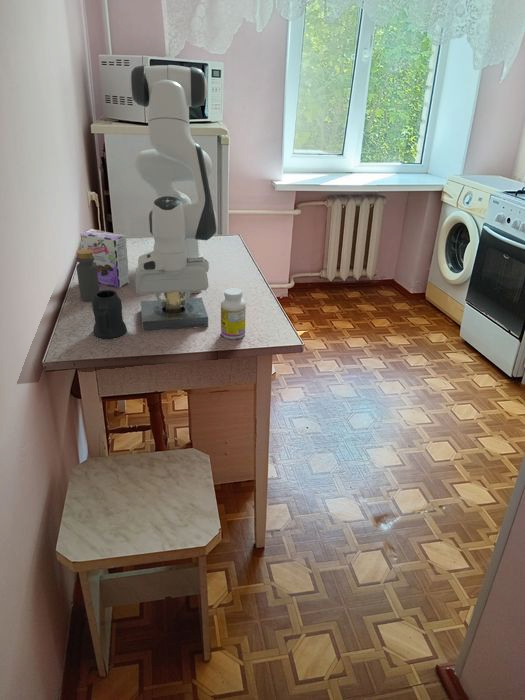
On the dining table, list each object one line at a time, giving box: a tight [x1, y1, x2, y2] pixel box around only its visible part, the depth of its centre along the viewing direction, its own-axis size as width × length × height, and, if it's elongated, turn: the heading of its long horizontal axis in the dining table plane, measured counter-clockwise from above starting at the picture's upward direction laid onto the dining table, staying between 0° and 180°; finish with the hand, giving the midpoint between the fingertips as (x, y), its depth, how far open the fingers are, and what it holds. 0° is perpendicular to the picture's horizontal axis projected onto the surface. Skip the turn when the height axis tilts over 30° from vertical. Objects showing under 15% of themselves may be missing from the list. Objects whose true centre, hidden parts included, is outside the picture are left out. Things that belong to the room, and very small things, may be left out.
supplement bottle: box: [220, 287, 247, 340], centre depth 143 cm, size 7×7×13 cm
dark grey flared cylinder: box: [91, 289, 128, 340], centre depth 141 cm, size 12×9×11 cm
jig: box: [140, 297, 209, 332], centre depth 153 cm, size 14×18×3 cm
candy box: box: [80, 228, 131, 289], centre depth 173 cm, size 14×6×16 cm, turn 65°
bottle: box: [75, 248, 101, 303], centre depth 161 cm, size 6×6×15 cm
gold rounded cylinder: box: [163, 292, 183, 314], centre depth 151 cm, size 5×5×8 cm
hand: (173, 305), depth 152 cm, fingers closed on gold rounded cylinder, 5 cm apart
